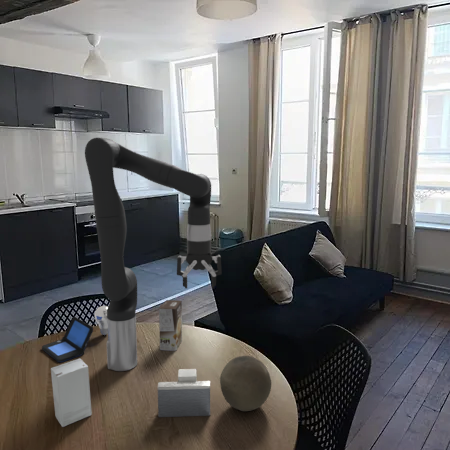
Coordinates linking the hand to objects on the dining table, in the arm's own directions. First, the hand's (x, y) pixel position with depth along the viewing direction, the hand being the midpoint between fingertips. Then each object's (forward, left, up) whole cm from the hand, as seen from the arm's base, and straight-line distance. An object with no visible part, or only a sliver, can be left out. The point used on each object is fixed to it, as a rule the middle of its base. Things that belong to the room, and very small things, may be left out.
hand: (199, 287), depth 131 cm
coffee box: (-11, +18, -28) cm, 35 cm away
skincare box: (-34, -24, -28) cm, 50 cm away
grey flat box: (-4, -24, -28) cm, 37 cm away
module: (-3, -20, -28) cm, 35 cm away
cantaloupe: (+13, -23, -28) cm, 38 cm away
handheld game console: (-48, +16, -29) cm, 59 cm away
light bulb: (-38, +28, -28) cm, 55 cm away
